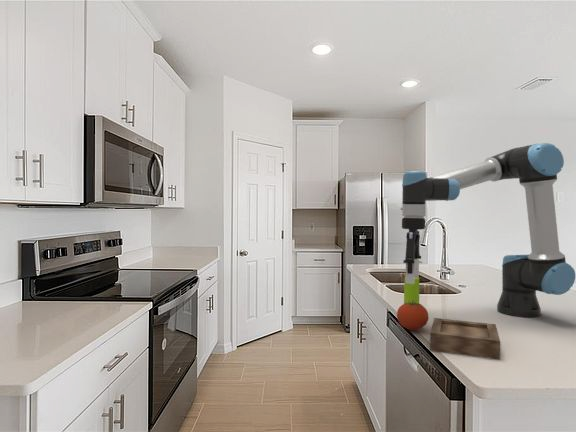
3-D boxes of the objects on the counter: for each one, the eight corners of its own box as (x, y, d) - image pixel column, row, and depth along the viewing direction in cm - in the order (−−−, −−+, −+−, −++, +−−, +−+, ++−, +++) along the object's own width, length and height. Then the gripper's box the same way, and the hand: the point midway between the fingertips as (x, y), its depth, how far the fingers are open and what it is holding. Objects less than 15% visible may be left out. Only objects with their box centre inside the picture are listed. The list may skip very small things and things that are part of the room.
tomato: (410, 335, 132) (410, 304, 132) (390, 327, 141) (390, 298, 141) (435, 332, 136) (435, 302, 136) (414, 324, 145) (414, 296, 145)
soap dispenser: (422, 312, 163) (423, 261, 162) (404, 311, 164) (405, 261, 164) (420, 308, 168) (421, 259, 168) (403, 307, 170) (404, 259, 170)
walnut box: (495, 340, 128) (495, 324, 128) (500, 359, 111) (500, 341, 111) (434, 333, 135) (434, 317, 135) (430, 350, 118) (430, 332, 118)
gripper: (406, 216, 151) (405, 274, 151) (396, 217, 128) (395, 285, 128) (428, 217, 148) (427, 275, 148) (421, 218, 125) (420, 287, 125)
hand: (412, 280), depth 138 cm, fingers open, 13 cm apart
